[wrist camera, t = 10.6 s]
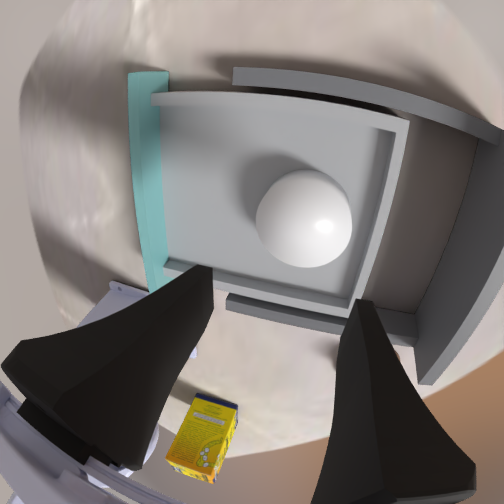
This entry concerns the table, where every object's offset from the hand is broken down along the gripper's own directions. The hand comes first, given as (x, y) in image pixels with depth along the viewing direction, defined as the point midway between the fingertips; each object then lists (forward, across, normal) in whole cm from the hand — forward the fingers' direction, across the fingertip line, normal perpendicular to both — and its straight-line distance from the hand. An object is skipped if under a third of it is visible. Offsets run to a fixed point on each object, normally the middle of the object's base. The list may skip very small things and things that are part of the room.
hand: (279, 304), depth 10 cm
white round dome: (+8, 0, 0) cm, 8 cm away
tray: (+9, +4, 0) cm, 10 cm away
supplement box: (+10, +6, +31) cm, 33 cm away
